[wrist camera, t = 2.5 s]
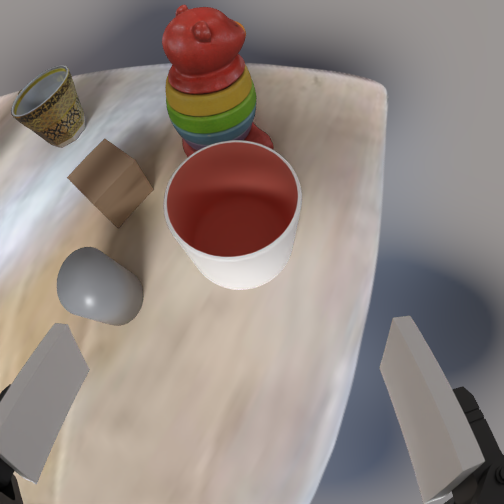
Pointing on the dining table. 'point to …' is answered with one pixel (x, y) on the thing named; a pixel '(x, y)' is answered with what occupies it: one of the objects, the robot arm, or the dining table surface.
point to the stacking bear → (209, 80)
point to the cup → (235, 212)
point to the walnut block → (111, 182)
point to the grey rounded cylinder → (98, 288)
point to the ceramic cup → (51, 107)
